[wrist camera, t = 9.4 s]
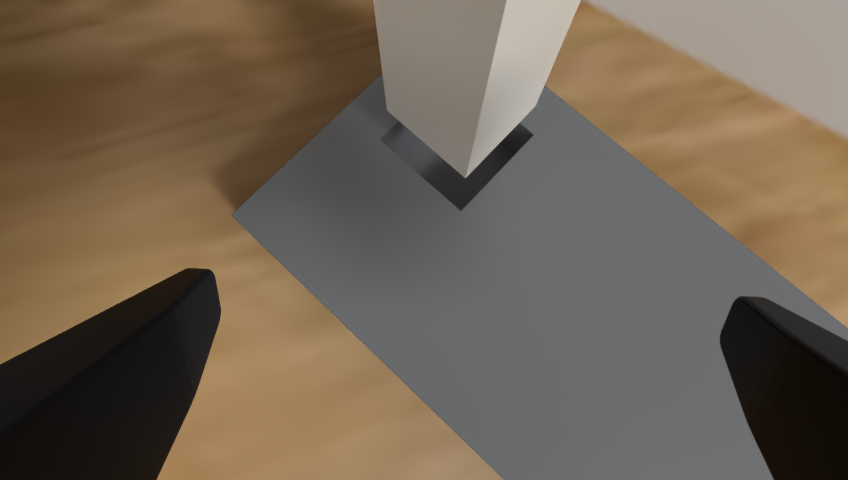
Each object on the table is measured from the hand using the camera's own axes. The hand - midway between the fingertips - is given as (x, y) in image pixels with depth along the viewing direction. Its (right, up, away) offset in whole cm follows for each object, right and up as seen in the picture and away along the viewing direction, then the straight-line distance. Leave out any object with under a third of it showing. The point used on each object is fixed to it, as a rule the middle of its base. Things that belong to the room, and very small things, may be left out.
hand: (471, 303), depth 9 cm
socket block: (+3, -1, +13) cm, 13 cm away
